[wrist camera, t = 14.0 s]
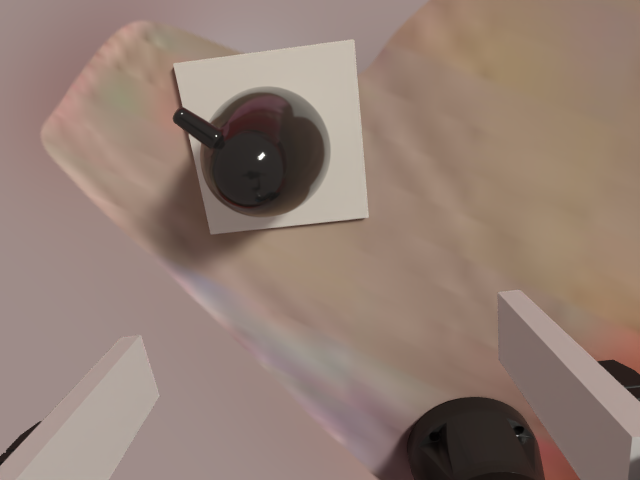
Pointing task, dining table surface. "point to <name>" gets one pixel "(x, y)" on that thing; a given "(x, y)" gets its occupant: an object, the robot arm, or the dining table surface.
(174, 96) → the dining table surface
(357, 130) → the ceramic tile
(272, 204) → the pump dispenser
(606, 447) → the robot arm
